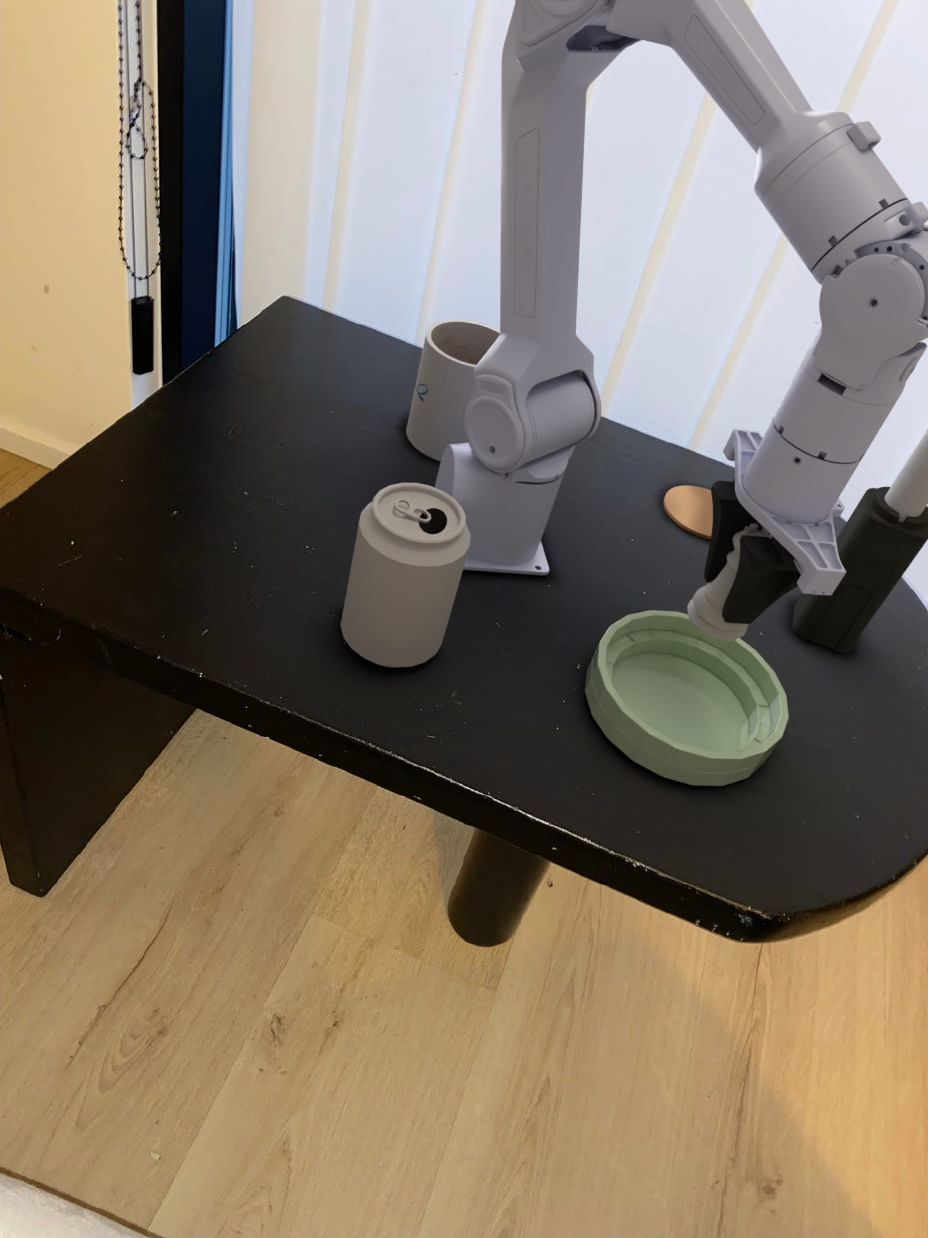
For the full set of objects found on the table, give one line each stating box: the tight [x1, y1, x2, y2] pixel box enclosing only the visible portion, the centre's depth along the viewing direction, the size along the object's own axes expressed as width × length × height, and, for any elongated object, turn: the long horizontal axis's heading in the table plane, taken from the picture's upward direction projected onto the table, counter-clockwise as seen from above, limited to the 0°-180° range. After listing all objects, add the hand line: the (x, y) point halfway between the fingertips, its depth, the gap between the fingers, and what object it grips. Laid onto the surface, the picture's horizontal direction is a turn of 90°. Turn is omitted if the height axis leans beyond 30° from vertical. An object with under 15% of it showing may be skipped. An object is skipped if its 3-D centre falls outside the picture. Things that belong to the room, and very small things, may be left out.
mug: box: [406, 318, 500, 462], centre depth 88 cm, size 12×9×10 cm
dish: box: [584, 609, 790, 787], centre depth 69 cm, size 14×14×4 cm
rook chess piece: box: [686, 524, 773, 641], centre depth 65 cm, size 4×4×8 cm
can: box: [340, 482, 471, 668], centre depth 65 cm, size 8×8×12 cm
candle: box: [791, 429, 928, 654], centre depth 73 cm, size 5×5×25 cm
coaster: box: [663, 484, 713, 540], centre depth 90 cm, size 8×8×1 cm
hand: (726, 600), depth 66 cm, fingers closed on rook chess piece, 3 cm apart
